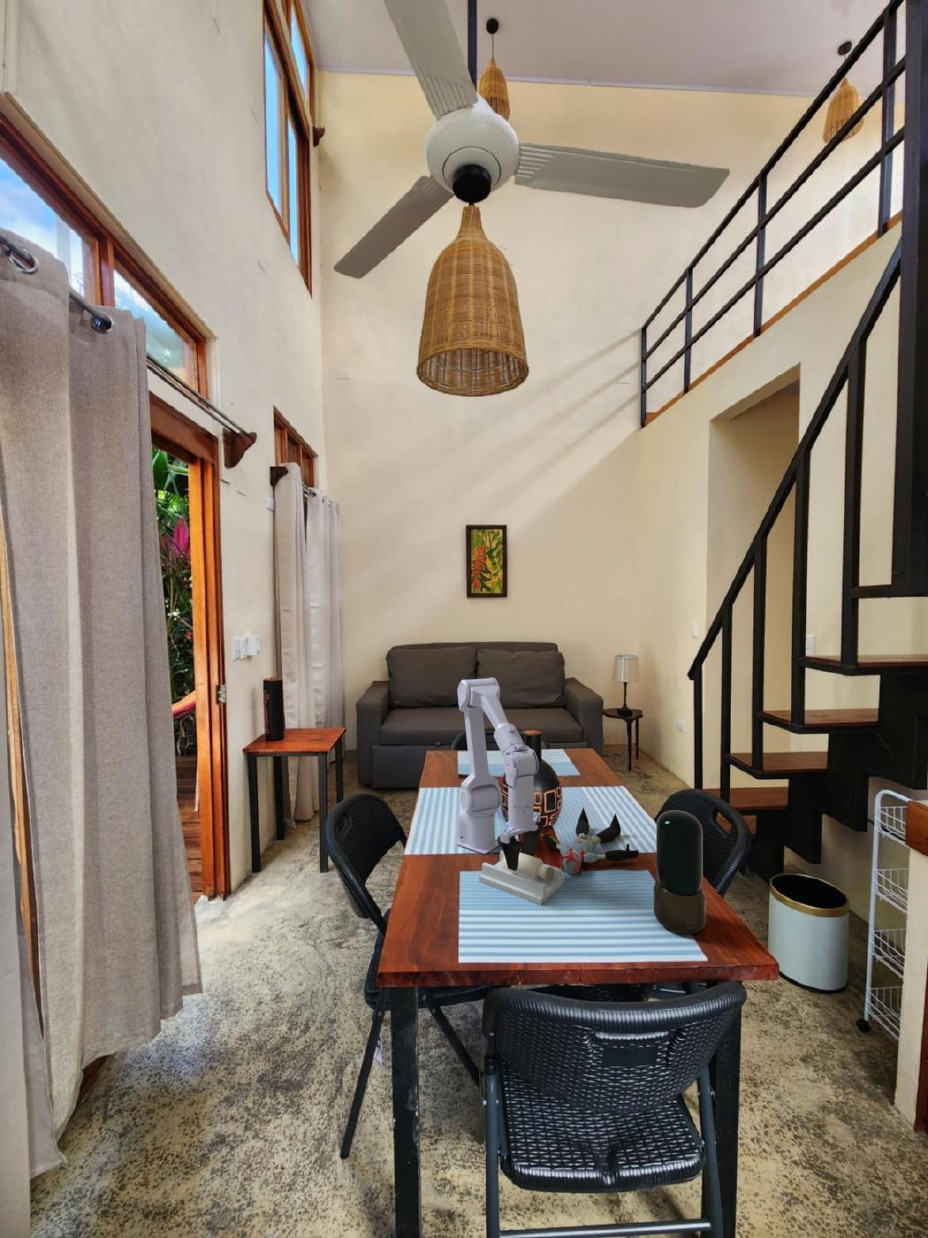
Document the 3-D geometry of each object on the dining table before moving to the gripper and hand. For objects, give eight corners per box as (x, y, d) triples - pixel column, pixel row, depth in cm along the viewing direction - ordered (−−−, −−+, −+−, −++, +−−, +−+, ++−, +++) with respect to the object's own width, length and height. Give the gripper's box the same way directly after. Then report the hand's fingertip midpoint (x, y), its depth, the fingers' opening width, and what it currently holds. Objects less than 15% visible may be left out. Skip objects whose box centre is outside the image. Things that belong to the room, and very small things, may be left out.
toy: (648, 818, 138) (624, 862, 111) (648, 848, 137) (623, 898, 111) (556, 802, 150) (515, 837, 124) (555, 829, 150) (514, 870, 124)
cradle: (479, 881, 118) (478, 866, 118) (505, 862, 127) (505, 848, 127) (540, 905, 109) (540, 889, 109) (564, 882, 117) (564, 867, 117)
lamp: (705, 943, 96) (705, 826, 95) (651, 930, 100) (651, 818, 100) (705, 915, 105) (705, 808, 104) (655, 904, 109) (655, 800, 108)
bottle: (500, 871, 119) (503, 849, 120) (511, 870, 122) (514, 848, 123) (544, 887, 112) (547, 864, 113) (554, 885, 116) (557, 862, 117)
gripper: (519, 818, 109) (519, 881, 110) (551, 797, 121) (551, 855, 121) (491, 810, 114) (492, 871, 114) (525, 791, 125) (525, 846, 125)
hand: (521, 862), depth 118 cm, fingers open, 7 cm apart
